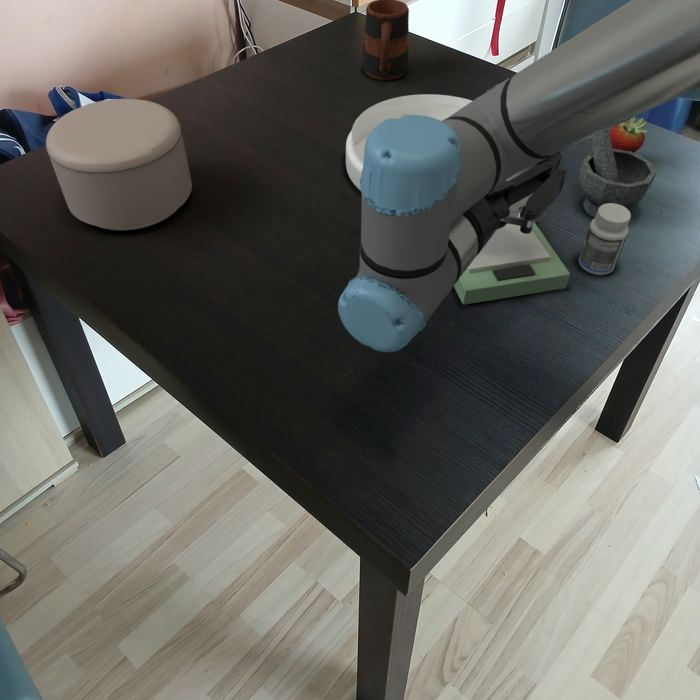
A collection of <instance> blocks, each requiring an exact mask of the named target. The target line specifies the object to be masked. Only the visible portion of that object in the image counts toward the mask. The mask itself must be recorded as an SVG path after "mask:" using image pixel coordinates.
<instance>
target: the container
mask: <svg viewBox="0 0 700 700" xmlns="http://www.w3.org/2000/svg"><path fill="white" fill-rule="evenodd" d="M45 150H46V154H47V155H48V158H49V159H50V162H51V165H52V167H53V171H54V174H55V176H56V178H57V181H58V183H59V186H60V189H61V192H62V195H63V197H64V200H65V203H66V206H67V208H68V210H69V211H70V213H71V214H72V215H73V216H74V217H75V218H76V219H78V220H79V221H81V222H83V223H86V224H88V225H92V226H95V227H98V228H102V229H106V230H111V231H129V230H131V231H132V230H139V229H143V228H147V227H151V226H153V225H156V224H158V223H160V222H162V221H165V220H166V219H168V218H170V217H171V216H172V215H173V214H174V213H176V211H177V210H179V208H180V207H182V206H183V205H184V204H185V203H186V201H187V200H188V199H189V197H190V195H191V193H192V189H193V182H192V178H191V172H190V167H189V161H188V158H187V157H188V156H187V152H186V147H185V142H184V137H183V130H182V125H181V123H180V121H179V120H178V117H177V116H176V115H175V114H174V113H173V112H172V111H171V110H170V109H168V108H167V107H166V106H163V105H161V104H159V103H157V102H153V101H150V100H145V99H139V98H112V99H105V100H100V101H99V100H98V101H96V102H91V103H88V104H84V105H82V106H80V107H78V108H75V109H73V110H71V111H69V112H68V113H65V114H64V115H63V116H61V117H59V119H58V120H56V121H55V122H54V123H53V125H52V126H51V127H50V129H49V131H48V133H47V135H46V139H45Z"/></svg>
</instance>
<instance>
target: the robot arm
mask: <svg viewBox="0 0 700 700" xmlns="http://www.w3.org/2000/svg"><path fill="white" fill-rule="evenodd" d="M699 88H700V0H630V1H628V2H626V3H625V4H623V5H622V6H620V7H618V8H617V9H616V10H614V11H612V12H611V13H609V14H607V15H606V16H605V17H603V18H601V19H599V20H598V21H597V22H594V24H592V25H590V26H589V27H587V28H586V29H584V30H582V31H581V32H579V33H577V34H576V35H575V36H573V37H572V38H570V39H569V40H567V41H565V42H564V43H562V44H560V45H559V46H557V47H555V48H554V49H553V50H551V51H549V52H548V53H546V54H545V55H543V56H541V57H540V58H538V59H537V60H535V61H534V62H531V64H529V65H527V66H526V67H524V68H523V69H521V70H519V71H518V72H517V73H515V74H514V75H513V76H511V77H509V78H507V79H505V80H504V81H502V82H500V83H498V84H495V85H494V86H491V87H490V88H489V89H487V90H486V91H484V92H483V93H481V94H480V95H478V96H477V97H476V98H475V99H473V100H471V101H472V102H470V103H469V104H467V105H466V106H464V107H463V108H461V109H460V110H458V111H457V112H455V113H454V114H452V115H451V116H449V117H448V118H446V119H444V120H442V121H440V120H438V119H435V118H432V117H428V116H422V115H404V116H403V117H402V118H401V119H394V118H390V119H387V120H385V121H383V122H381V123H379V124H378V125H377V126H375V127H374V128H373V129H372V131H371V132H370V133H369V135H368V137H367V139H366V142H365V148H364V161H363V169H362V174H361V178H360V189H361V191H360V192H361V204H360V205H361V210H360V211H361V213H360V217H361V218H360V246H359V269H358V273H357V275H356V276H355V277H353V278H351V279H350V280H349V281H348V284H347V286H346V287H345V288H344V290H343V292H342V293H341V294H340V297H339V299H338V303H337V310H338V315H339V318H340V321H341V323H342V325H343V327H344V328H345V329H346V331H347V332H348V333H349V334H350V335H351V337H353V338H354V339H355V340H356V341H357V342H358V343H360V344H361V345H363V346H368V347H369V348H371V349H372V350H374V351H376V352H382V353H393V352H394V353H395V352H397V351H400V350H402V349H404V348H405V347H406V346H407V345H408V344H409V343H410V342H411V341H412V340H413V339H414V338H415V336H416V335H417V334H418V333H419V332H421V331H423V330H424V328H425V327H426V325H427V322H428V321H429V319H430V318H431V317H432V316H433V314H434V313H435V312H436V310H437V309H438V307H440V305H441V303H442V302H443V301H444V299H445V298H446V297H447V295H448V294H449V293H450V291H451V290H452V289H453V288H454V285H455V283H456V282H457V281H458V280H459V278H460V277H461V276H462V275H463V273H464V272H465V271H466V269H467V268H468V267H469V265H470V264H471V263H472V261H473V260H474V259H475V257H476V256H477V255H478V254H479V253H480V251H481V250H482V249H483V248H484V246H485V245H486V244H487V242H488V241H489V240H490V238H491V237H492V236H493V234H494V233H495V231H496V230H497V229H500V228H502V227H504V226H505V225H506V224H513V225H518V226H520V231H521V232H522V233H524V234H529V233H531V231H532V227H533V223H535V221H536V220H537V219H538V218H539V217H540V216H541V215H542V213H543V212H545V210H546V209H547V208H548V207H549V206H550V205H551V204H552V203H553V202H554V201H555V200H556V199H557V197H559V195H560V194H561V193H562V190H563V187H564V184H565V180H566V177H567V171H566V170H565V169H563V168H560V165H561V161H562V158H563V154H562V153H561V152H562V151H564V150H566V149H568V148H571V147H574V146H575V145H577V144H579V143H582V142H584V141H586V140H589V139H591V137H592V136H595V135H597V134H599V133H601V132H603V131H605V130H609V129H610V130H611V129H612V128H613V127H614V126H616V125H618V124H621V123H623V122H626V121H627V120H629V119H631V118H634V117H635V118H636V117H638V116H640V115H642V114H644V113H647V112H649V111H651V110H653V109H655V108H657V107H660V106H662V105H664V104H665V103H666V104H667V103H668V102H670V101H672V100H674V99H677V98H679V97H681V96H684V95H685V94H688V93H689V92H692V91H694V90H696V89H699ZM629 121H630V120H629ZM534 164H537V166H535V167H534V168H532V169H530V170H528V171H526V172H524V173H522V174H520V175H518V176H516V177H515V178H513V179H511V180H509V181H506V180H507V179H508V178H509V177H511V176H513V175H514V174H516V173H518V172H520V171H522V170H524V169H526V168H528V167H530V166H532V165H534ZM531 194H532V195H531ZM529 195H531V196H530V197H529V198H528V200H527V202H526V204H525V203H521V205H520V207H519V208H517V209H516V210H515V211H510V210H509V208H510V206H511V205H513V204H515V203H516V202H518V201H520V200H522V199H524V198H525V197H527V196H529Z"/></svg>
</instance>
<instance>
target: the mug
mask: <svg viewBox="0 0 700 700" xmlns="http://www.w3.org/2000/svg"><path fill="white" fill-rule="evenodd" d="M365 8H366V9H365V23H364V33H365V36H364V37H365V39H364V45H363V52H362V70H363V71H364V73H365V75H367V76H368V77H370V78H372V79H375V80H380V81H392V80H397V79H399V78H402V77H403V76H404V75H405V73H406V72H407V70H408V69H409V46H408V34H409V30H410V29H409V28H410V27H409V26H410V25H409V19H410V18H409V17H410V8H409V6H408V4H407V3H405V2H403V1H401V0H373V1H371V2H369V3H368V5H367V6H366V7H365Z"/></svg>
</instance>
